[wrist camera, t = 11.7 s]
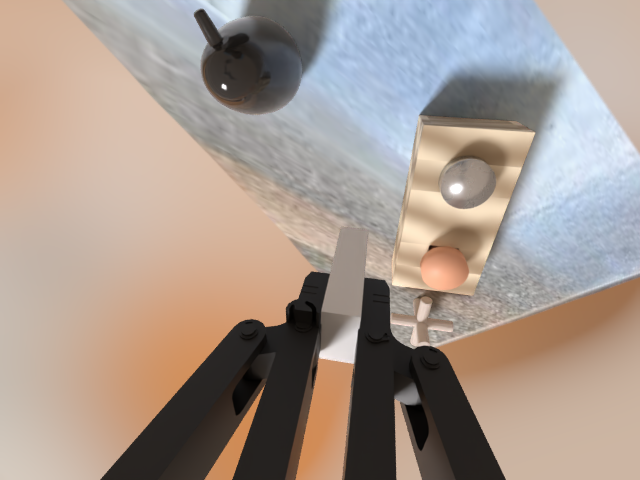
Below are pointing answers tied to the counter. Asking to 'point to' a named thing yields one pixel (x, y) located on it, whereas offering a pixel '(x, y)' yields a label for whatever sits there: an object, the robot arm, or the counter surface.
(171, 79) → the counter surface
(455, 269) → the terracotta plunger
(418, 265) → the panel housing
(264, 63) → the pump dispenser
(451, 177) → the grey shiny disc
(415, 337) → the pipe connector
